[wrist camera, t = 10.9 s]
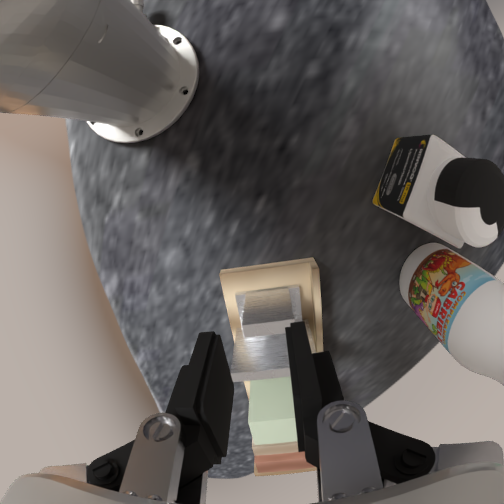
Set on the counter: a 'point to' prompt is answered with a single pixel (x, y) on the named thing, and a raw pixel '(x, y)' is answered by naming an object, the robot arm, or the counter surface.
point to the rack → (307, 277)
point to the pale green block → (272, 411)
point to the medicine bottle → (443, 191)
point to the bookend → (265, 332)
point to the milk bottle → (457, 306)
